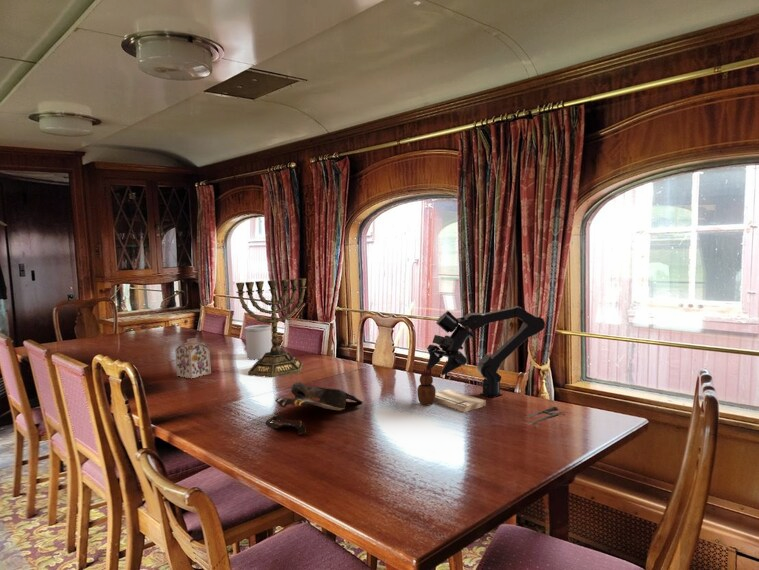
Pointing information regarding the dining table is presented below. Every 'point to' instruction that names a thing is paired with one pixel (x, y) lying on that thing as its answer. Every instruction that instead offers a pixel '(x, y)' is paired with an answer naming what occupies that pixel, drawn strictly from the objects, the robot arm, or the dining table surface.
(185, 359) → the decorative jar
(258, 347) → the utensil holder
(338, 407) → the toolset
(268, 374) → the menorah
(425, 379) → the wooden figurine
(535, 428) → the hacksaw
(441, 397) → the maple board
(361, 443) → the dining table surface
